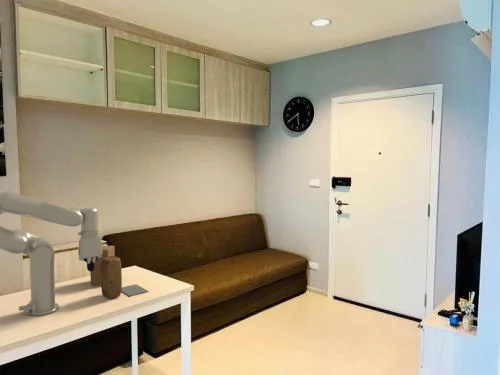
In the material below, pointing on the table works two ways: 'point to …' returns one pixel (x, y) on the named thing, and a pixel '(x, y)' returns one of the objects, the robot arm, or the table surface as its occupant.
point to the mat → (133, 290)
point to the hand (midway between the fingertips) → (90, 270)
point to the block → (111, 277)
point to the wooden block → (96, 273)
